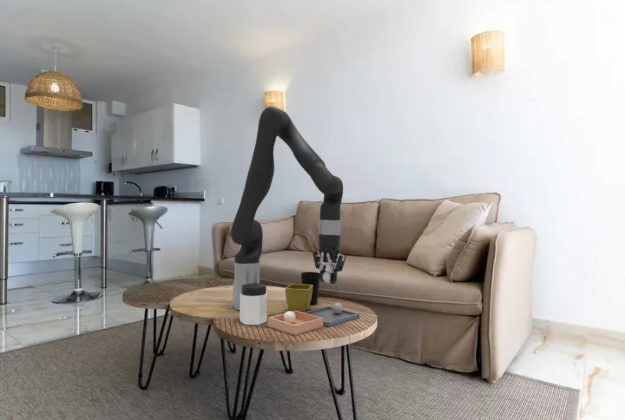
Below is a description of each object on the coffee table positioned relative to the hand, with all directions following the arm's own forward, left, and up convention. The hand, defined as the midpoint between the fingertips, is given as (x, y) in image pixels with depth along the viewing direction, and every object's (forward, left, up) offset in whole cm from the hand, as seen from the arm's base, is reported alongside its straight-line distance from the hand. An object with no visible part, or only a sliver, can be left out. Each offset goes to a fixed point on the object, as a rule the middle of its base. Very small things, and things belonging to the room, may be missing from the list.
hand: (328, 282), depth 137 cm
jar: (-14, -21, -13) cm, 28 cm away
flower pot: (-14, 0, -13) cm, 19 cm away
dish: (0, -15, -12) cm, 20 cm away
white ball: (-2, -15, -12) cm, 20 cm away
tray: (0, 0, -12) cm, 12 cm away
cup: (-19, +11, -13) cm, 25 cm away
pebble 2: (0, +5, -12) cm, 13 cm away
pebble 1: (0, 0, 0) cm, 0 cm away
